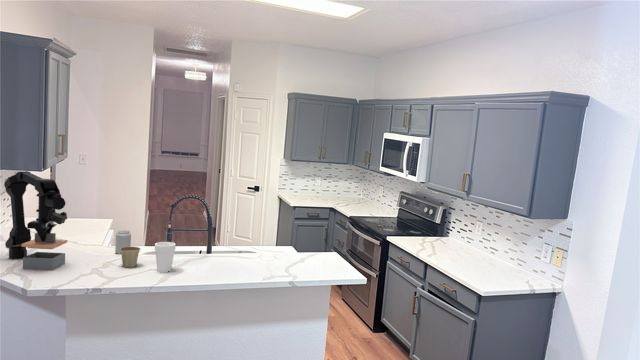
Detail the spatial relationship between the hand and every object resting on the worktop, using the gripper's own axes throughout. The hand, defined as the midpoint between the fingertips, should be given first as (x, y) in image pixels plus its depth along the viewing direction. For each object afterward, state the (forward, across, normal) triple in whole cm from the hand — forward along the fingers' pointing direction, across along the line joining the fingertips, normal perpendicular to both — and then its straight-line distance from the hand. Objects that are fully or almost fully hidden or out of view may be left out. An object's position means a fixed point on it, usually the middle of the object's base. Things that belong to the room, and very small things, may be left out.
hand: (45, 240), depth 207 cm
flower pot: (+13, +10, -35) cm, 39 cm away
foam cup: (+13, +5, -53) cm, 55 cm away
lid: (+2, 0, 0) cm, 2 cm away
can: (+13, +34, -23) cm, 43 cm away
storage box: (+13, 0, 0) cm, 13 cm away
